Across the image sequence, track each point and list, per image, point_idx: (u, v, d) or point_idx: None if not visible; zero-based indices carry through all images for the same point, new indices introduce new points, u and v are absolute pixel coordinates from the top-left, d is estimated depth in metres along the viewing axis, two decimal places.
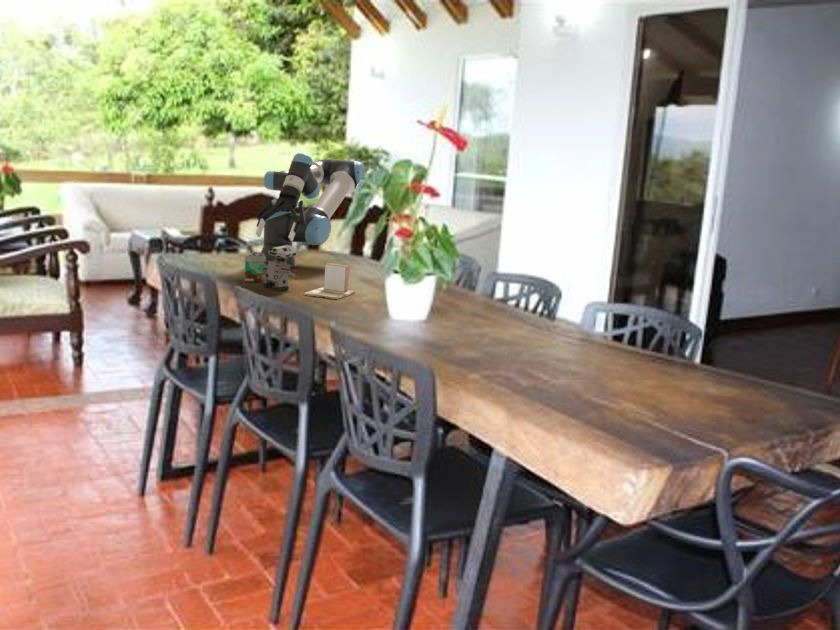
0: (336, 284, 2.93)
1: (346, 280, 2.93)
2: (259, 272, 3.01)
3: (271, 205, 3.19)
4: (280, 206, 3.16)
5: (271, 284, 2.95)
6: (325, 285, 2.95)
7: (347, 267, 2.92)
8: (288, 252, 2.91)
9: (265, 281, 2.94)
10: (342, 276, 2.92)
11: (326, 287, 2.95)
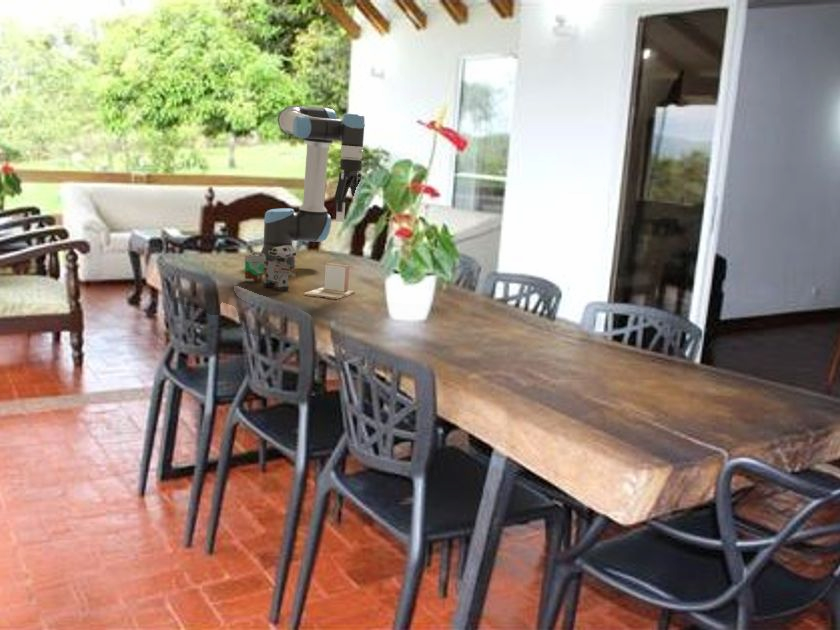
0: (336, 284, 2.93)
1: (346, 280, 2.93)
2: (259, 272, 3.01)
3: None
4: None
5: (271, 284, 2.95)
6: (325, 285, 2.95)
7: (347, 267, 2.92)
8: (288, 252, 2.91)
9: (265, 281, 2.94)
10: (342, 276, 2.92)
11: (326, 287, 2.95)
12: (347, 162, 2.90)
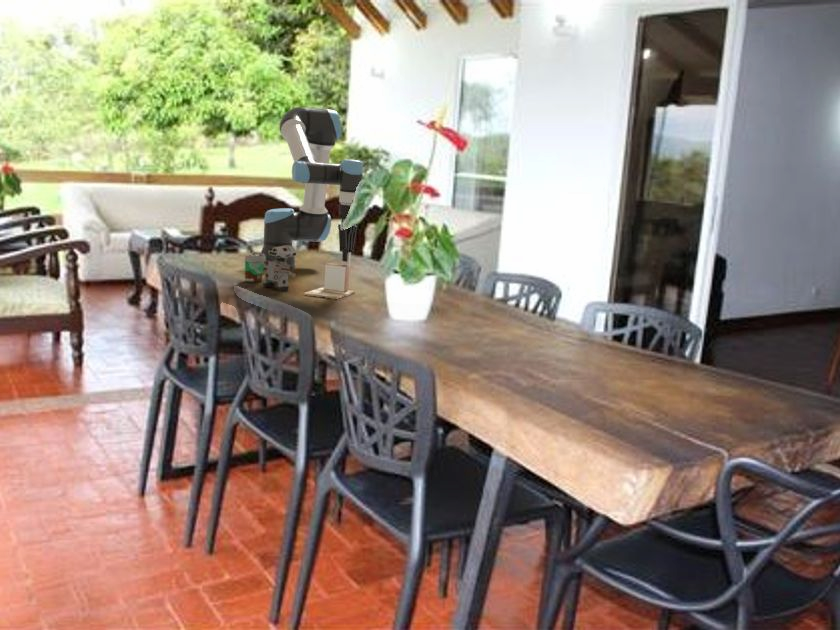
0: (336, 284, 2.93)
1: (346, 280, 2.93)
2: (259, 272, 3.01)
3: None
4: None
5: (271, 284, 2.95)
6: (325, 285, 2.95)
7: (347, 267, 2.92)
8: (288, 252, 2.91)
9: (265, 281, 2.94)
10: (342, 276, 2.92)
11: (326, 287, 2.95)
12: (345, 208, 2.93)
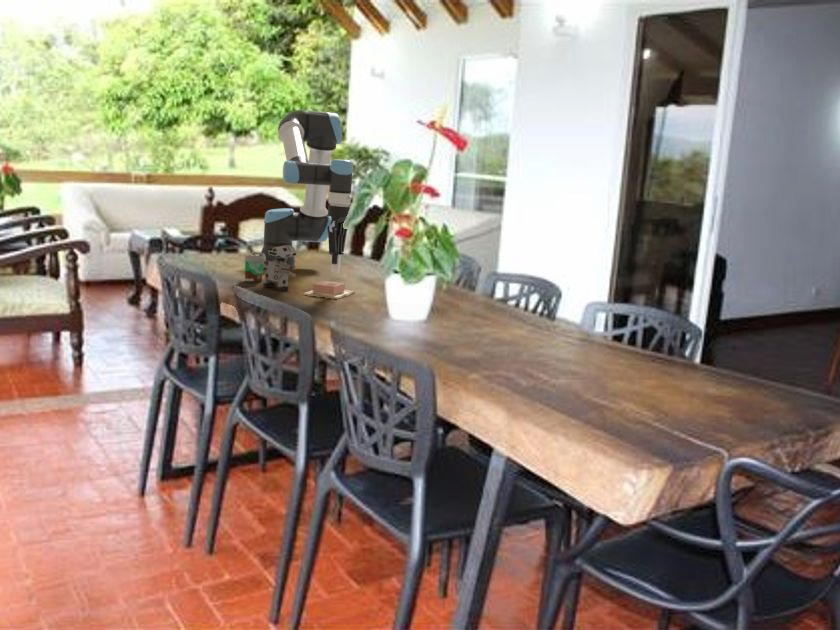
0: None
1: (340, 291, 2.89)
2: (259, 272, 3.01)
3: None
4: None
5: (271, 284, 2.95)
6: None
7: (334, 291, 2.85)
8: (288, 252, 2.91)
9: (265, 281, 2.94)
10: None
11: None
12: (335, 209, 2.85)
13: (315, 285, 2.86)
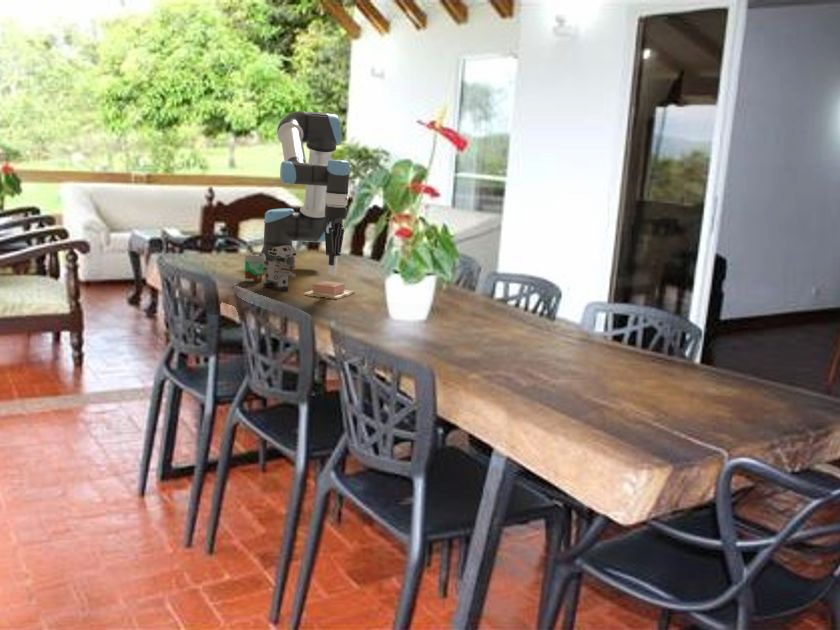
0: None
1: (340, 291, 2.89)
2: (259, 272, 3.01)
3: None
4: None
5: (271, 284, 2.95)
6: None
7: (334, 291, 2.85)
8: (288, 252, 2.91)
9: (265, 281, 2.94)
10: None
11: None
12: (332, 210, 2.83)
13: (315, 285, 2.86)
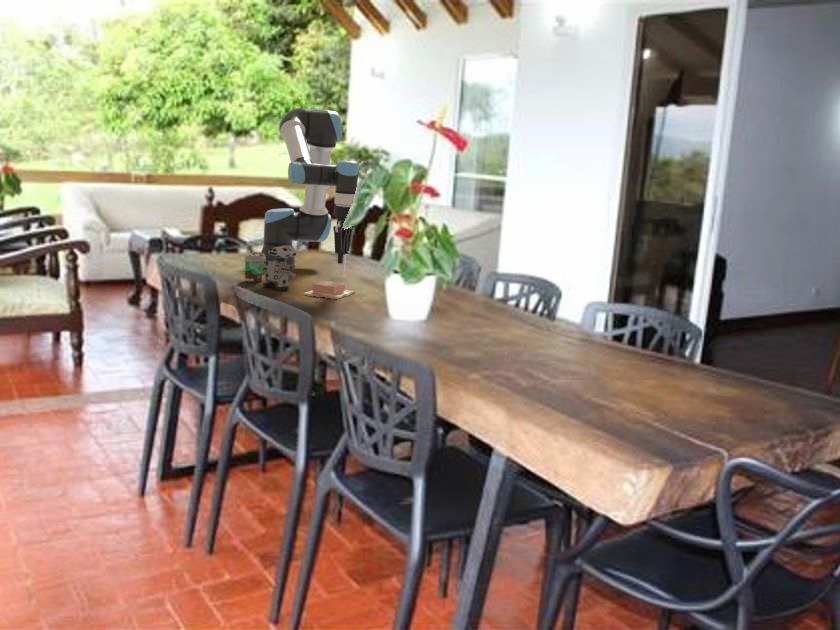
0: None
1: (340, 291, 2.89)
2: (259, 272, 3.01)
3: None
4: (344, 230, 2.93)
5: (271, 284, 2.95)
6: None
7: (334, 291, 2.85)
8: (288, 252, 2.91)
9: (265, 281, 2.94)
10: None
11: None
12: (341, 209, 2.90)
13: (315, 285, 2.86)
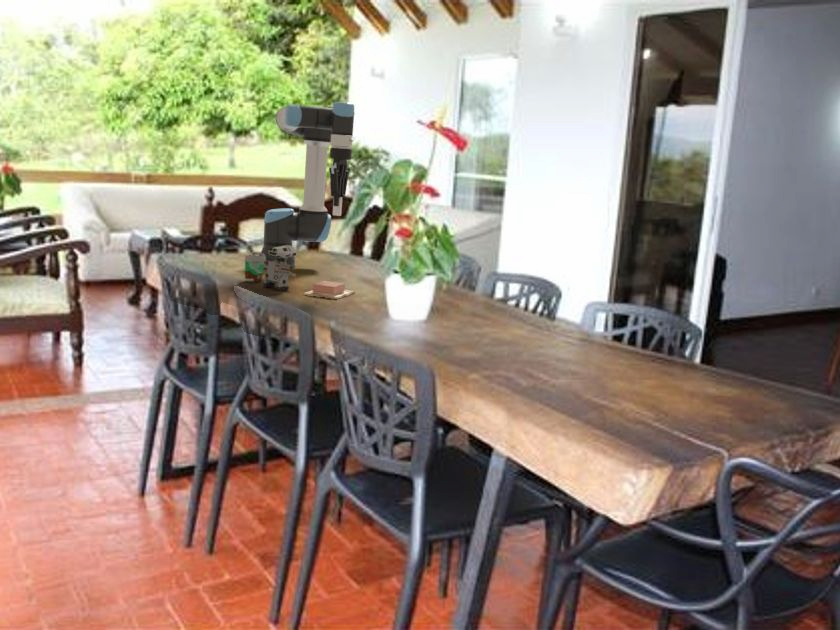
0: None
1: (340, 291, 2.89)
2: (259, 272, 3.01)
3: None
4: (340, 172, 2.93)
5: (271, 284, 2.95)
6: None
7: (334, 291, 2.85)
8: (288, 252, 2.91)
9: (265, 281, 2.94)
10: None
11: None
12: (337, 151, 2.89)
13: (315, 285, 2.86)
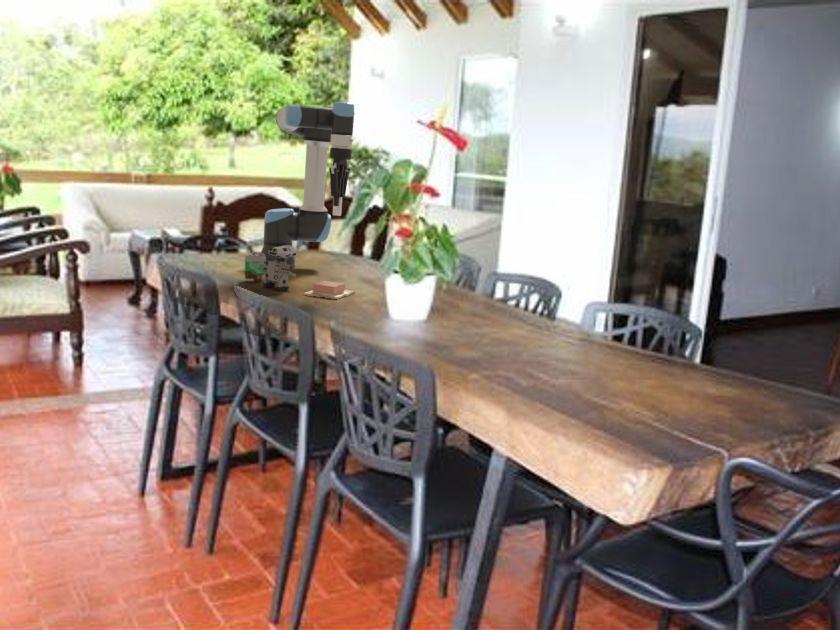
0: None
1: (340, 291, 2.89)
2: (259, 272, 3.01)
3: None
4: (340, 172, 2.93)
5: (271, 284, 2.95)
6: None
7: (334, 291, 2.85)
8: (288, 252, 2.91)
9: (265, 281, 2.94)
10: None
11: None
12: (337, 151, 2.89)
13: (315, 285, 2.86)
